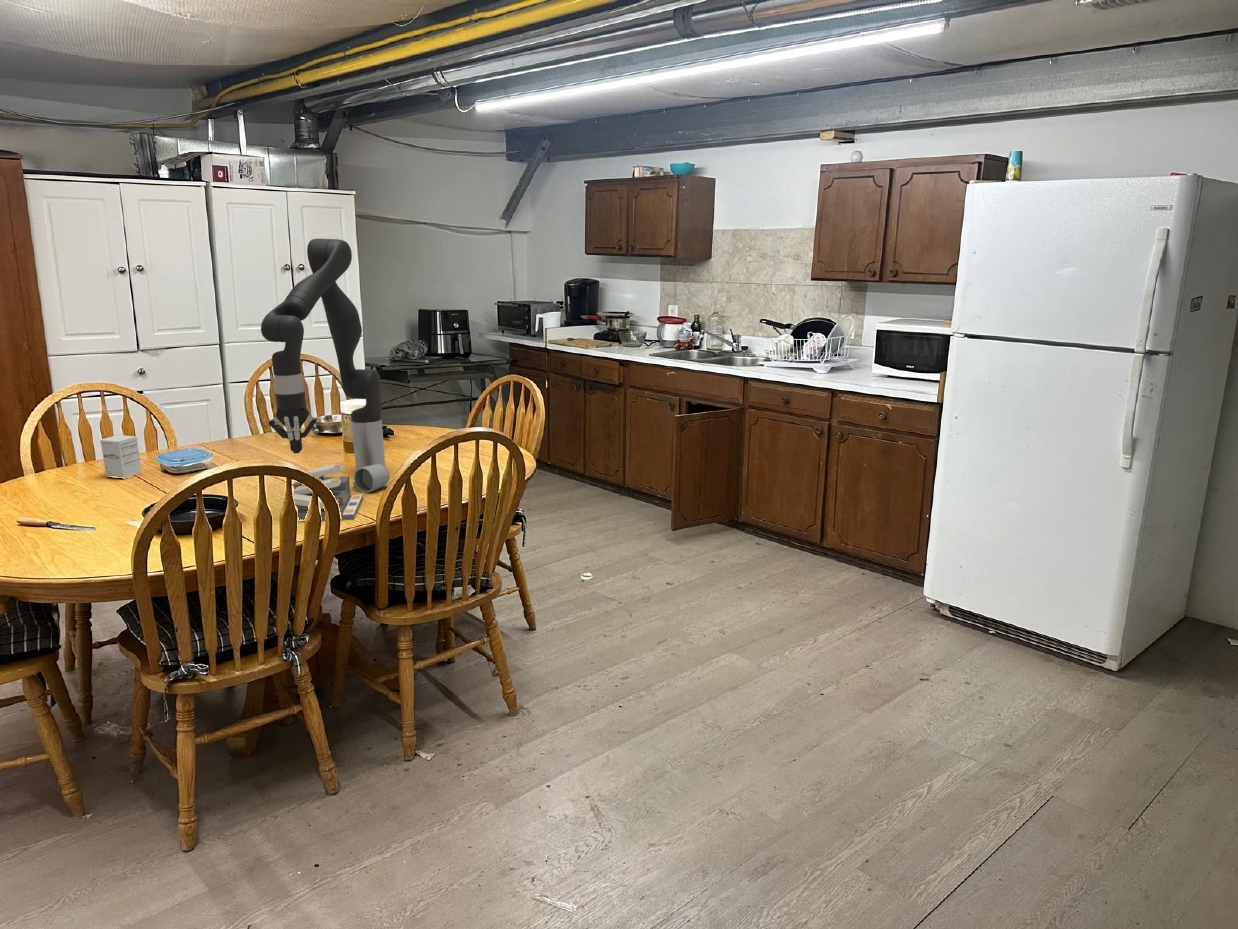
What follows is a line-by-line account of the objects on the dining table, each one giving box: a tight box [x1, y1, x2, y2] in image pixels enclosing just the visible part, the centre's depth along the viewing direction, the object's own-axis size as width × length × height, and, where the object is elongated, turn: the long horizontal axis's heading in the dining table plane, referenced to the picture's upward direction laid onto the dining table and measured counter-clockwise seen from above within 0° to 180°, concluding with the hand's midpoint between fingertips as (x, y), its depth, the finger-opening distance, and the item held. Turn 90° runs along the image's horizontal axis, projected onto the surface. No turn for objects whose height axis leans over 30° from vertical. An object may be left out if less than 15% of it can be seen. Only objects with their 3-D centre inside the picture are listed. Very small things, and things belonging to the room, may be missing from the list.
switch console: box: [293, 475, 364, 522], centre depth 238 cm, size 18×18×8 cm
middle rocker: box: [293, 475, 341, 495], centre depth 237 cm, size 4×12×2 cm, turn 98°
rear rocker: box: [306, 461, 345, 477], centre depth 242 cm, size 4×12×2 cm, turn 98°
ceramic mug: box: [352, 464, 390, 494], centre depth 258 cm, size 11×8×8 cm
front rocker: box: [292, 493, 339, 509], centre depth 232 cm, size 4×12×2 cm, turn 98°
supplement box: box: [100, 434, 143, 478], centre depth 270 cm, size 7×7×13 cm
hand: (296, 452), depth 234 cm, fingers closed
